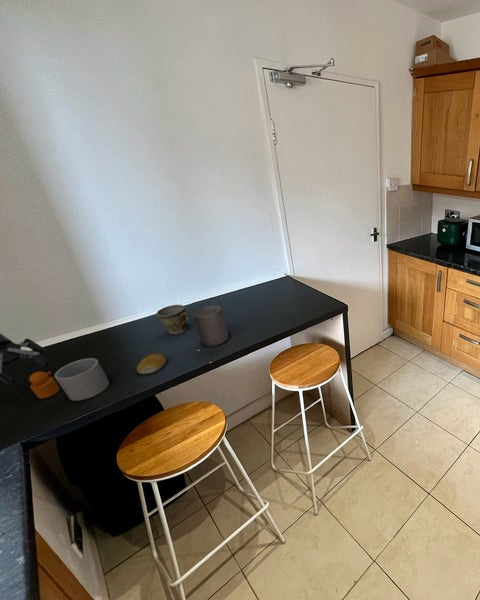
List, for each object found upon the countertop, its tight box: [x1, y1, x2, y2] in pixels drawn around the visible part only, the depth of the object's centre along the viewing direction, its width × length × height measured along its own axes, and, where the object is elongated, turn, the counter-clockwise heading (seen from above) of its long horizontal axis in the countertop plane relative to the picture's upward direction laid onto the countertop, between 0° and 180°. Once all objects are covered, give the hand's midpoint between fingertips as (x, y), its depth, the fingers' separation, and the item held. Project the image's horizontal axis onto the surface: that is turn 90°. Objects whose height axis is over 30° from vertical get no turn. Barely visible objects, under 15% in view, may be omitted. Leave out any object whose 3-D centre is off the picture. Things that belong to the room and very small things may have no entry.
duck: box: [28, 371, 61, 399], centre depth 101 cm, size 6×5×8 cm
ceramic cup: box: [156, 304, 191, 335], centre depth 134 cm, size 13×10×10 cm
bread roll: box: [136, 353, 168, 375], centre depth 114 cm, size 8×9×4 cm
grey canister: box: [192, 304, 230, 347], centre depth 126 cm, size 10×10×15 cm
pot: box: [54, 357, 110, 402], centre depth 102 cm, size 10×10×9 cm
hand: (30, 373), depth 99 cm, fingers open, 8 cm apart
